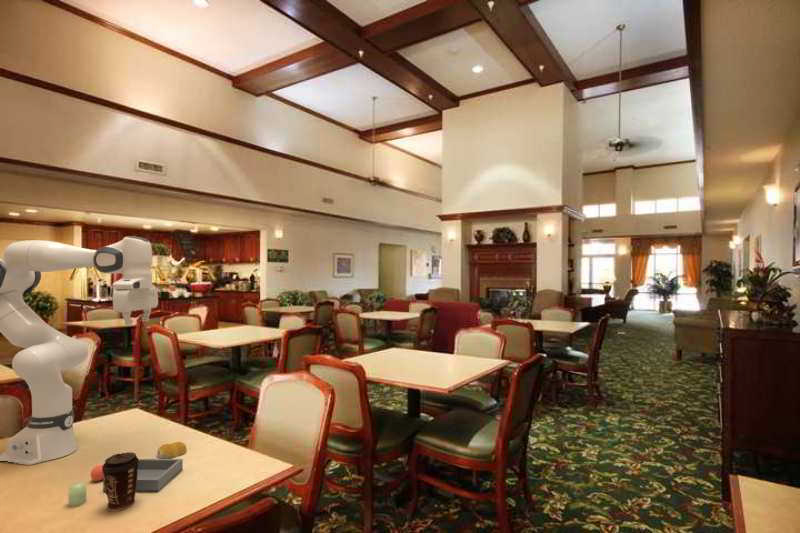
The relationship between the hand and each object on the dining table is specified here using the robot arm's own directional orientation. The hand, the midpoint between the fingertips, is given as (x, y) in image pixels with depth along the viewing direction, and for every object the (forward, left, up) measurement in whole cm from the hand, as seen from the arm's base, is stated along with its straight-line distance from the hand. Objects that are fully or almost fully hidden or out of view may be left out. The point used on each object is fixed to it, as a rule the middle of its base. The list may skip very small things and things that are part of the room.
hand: (137, 323), depth 151 cm
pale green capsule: (+2, -30, -46) cm, 55 cm away
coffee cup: (+15, -31, -46) cm, 57 cm away
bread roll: (+11, +2, -46) cm, 48 cm away
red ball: (-1, -17, -44) cm, 47 cm away
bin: (+13, -17, -46) cm, 51 cm away
